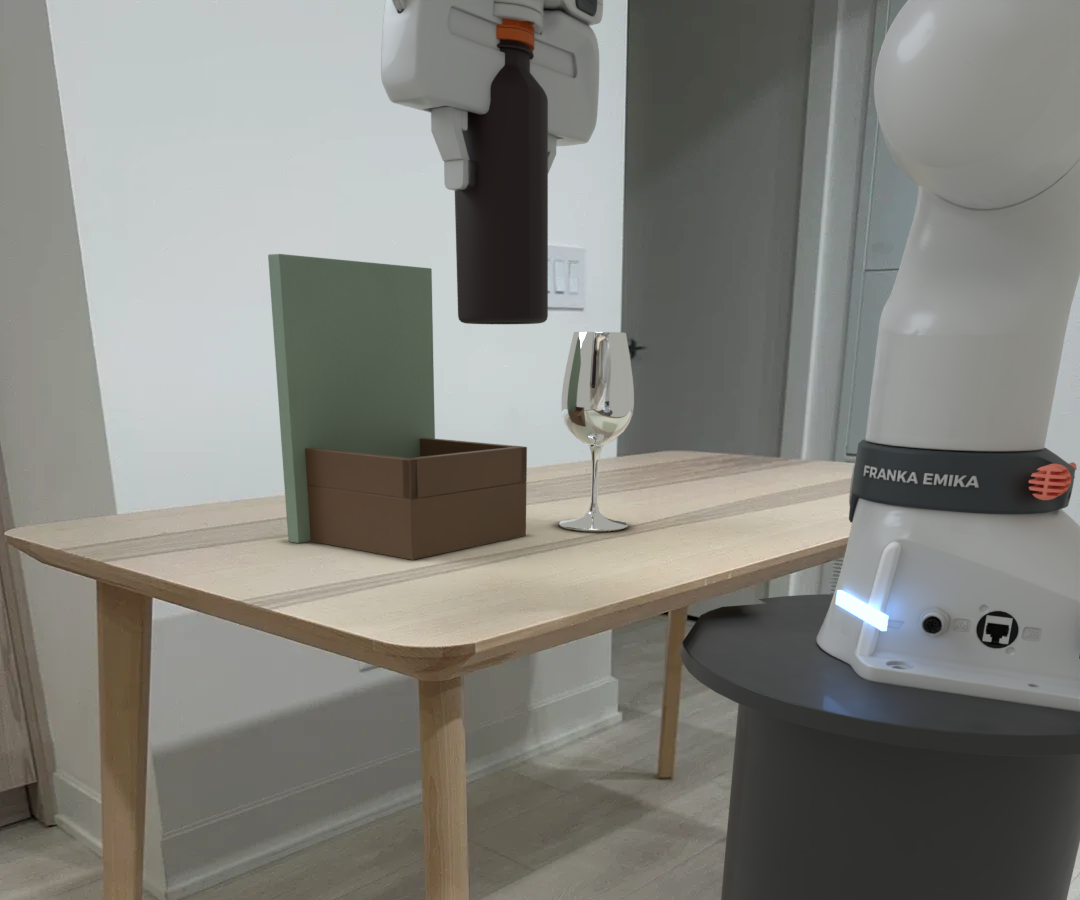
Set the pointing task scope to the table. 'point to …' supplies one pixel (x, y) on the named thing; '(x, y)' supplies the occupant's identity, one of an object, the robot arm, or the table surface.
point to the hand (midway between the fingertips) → (497, 197)
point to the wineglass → (597, 406)
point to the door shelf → (377, 418)
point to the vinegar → (506, 195)
